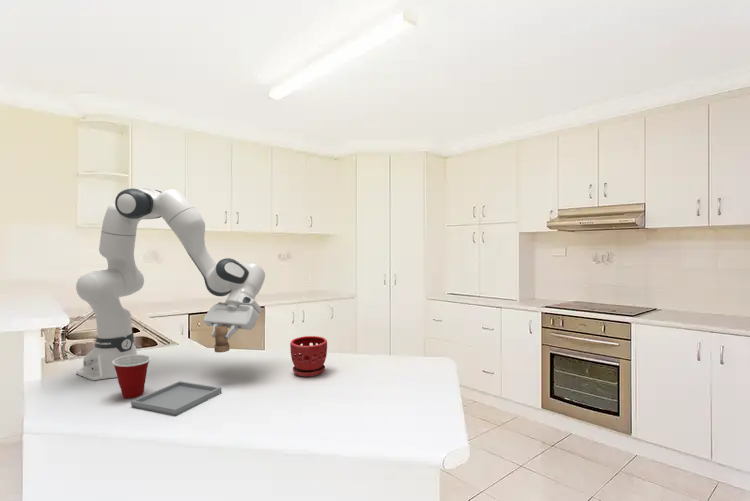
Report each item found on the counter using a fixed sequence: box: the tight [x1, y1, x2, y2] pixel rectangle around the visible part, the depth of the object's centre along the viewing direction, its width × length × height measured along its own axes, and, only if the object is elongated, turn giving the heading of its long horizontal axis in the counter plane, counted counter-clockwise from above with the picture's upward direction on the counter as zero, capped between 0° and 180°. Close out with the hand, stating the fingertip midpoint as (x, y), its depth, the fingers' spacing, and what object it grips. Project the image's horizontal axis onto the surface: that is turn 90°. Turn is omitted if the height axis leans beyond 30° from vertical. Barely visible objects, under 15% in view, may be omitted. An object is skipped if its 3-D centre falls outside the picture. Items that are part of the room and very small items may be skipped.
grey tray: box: [130, 380, 222, 417], centre depth 134 cm, size 18×18×2 cm
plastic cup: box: [112, 354, 152, 399], centre depth 139 cm, size 11×11×12 cm
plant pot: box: [289, 335, 328, 378], centre depth 156 cm, size 13×13×12 cm
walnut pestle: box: [214, 326, 231, 353], centre depth 146 cm, size 5×5×8 cm
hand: (220, 337), depth 146 cm, fingers closed on walnut pestle, 4 cm apart
